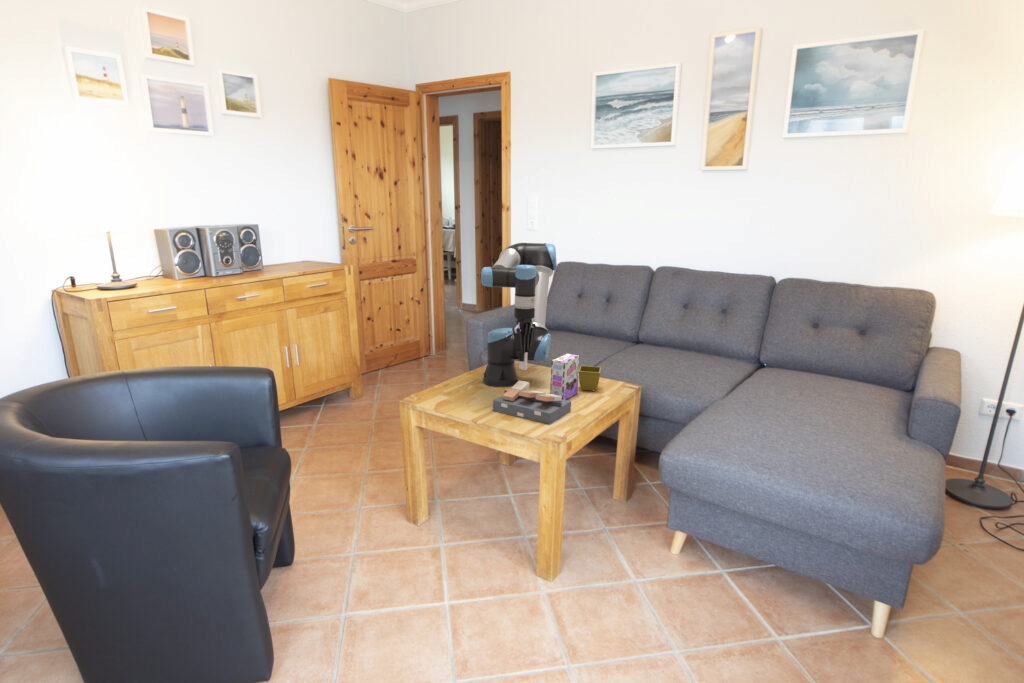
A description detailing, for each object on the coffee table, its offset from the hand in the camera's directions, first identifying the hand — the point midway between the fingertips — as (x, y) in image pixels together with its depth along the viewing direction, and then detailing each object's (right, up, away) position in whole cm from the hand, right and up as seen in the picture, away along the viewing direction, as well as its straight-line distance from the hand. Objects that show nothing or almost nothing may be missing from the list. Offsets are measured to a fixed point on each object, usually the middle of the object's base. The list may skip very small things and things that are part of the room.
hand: (522, 368), depth 211 cm
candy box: (+17, -12, +13) cm, 25 cm away
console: (+3, -15, -4) cm, 16 cm away
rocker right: (+9, -10, -9) cm, 16 cm away
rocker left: (-3, -8, -2) cm, 9 cm away
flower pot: (+28, -10, +24) cm, 38 cm away
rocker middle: (+3, -9, -5) cm, 11 cm away
